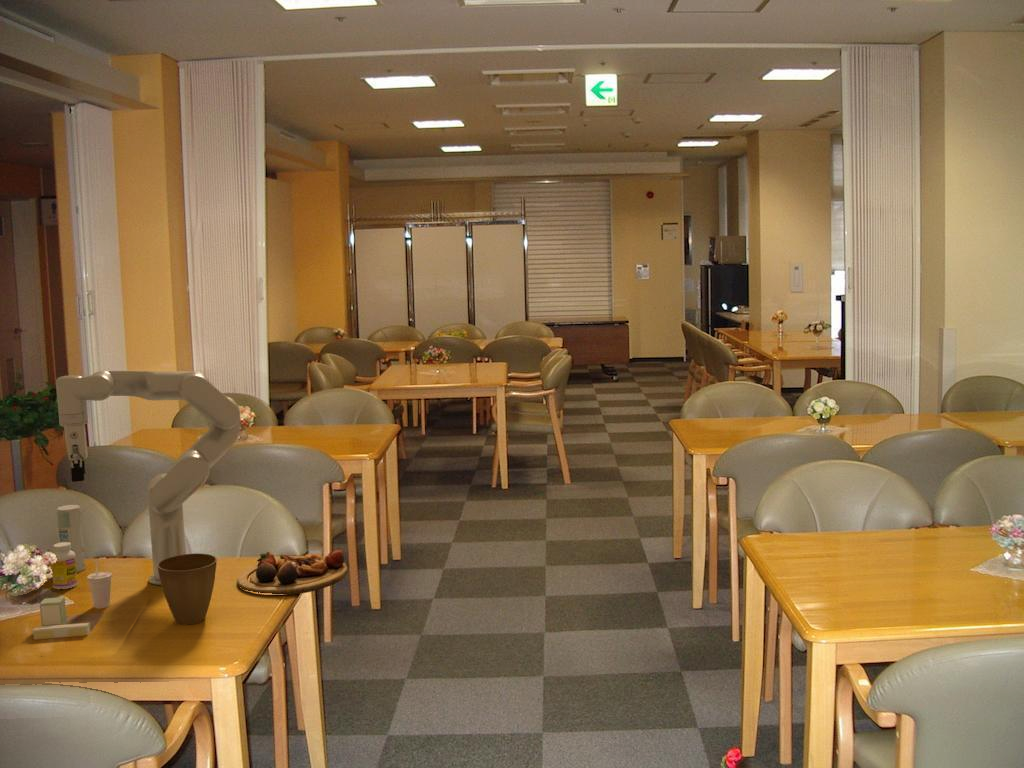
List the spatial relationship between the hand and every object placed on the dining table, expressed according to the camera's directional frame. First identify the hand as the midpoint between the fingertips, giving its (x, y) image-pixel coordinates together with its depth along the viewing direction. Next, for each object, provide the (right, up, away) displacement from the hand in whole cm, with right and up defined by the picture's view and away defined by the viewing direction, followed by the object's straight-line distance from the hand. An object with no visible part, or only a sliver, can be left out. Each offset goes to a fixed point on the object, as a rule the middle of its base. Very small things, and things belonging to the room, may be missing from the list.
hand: (78, 477), depth 290 cm
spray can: (-11, -31, +23) cm, 40 cm away
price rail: (+11, -38, -34) cm, 52 cm away
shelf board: (+10, -37, -27) cm, 47 cm away
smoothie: (+12, -35, -13) cm, 39 cm away
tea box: (+5, -36, -27) cm, 46 cm away
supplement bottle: (-7, -33, +8) cm, 35 cm away
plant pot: (+40, -36, -23) cm, 58 cm away
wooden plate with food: (+60, -31, +9) cm, 68 cm away
